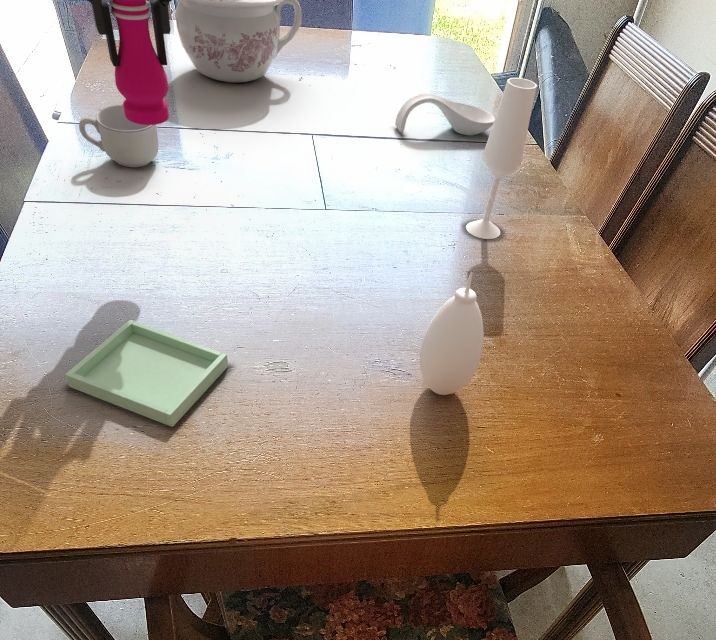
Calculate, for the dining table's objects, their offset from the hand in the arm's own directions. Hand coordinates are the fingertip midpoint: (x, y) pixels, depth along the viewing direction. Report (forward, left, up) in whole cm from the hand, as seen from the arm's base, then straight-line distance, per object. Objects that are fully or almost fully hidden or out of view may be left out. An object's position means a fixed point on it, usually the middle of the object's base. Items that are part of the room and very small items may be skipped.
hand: (138, 61), depth 84 cm
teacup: (-22, +19, -25) cm, 38 cm away
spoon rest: (+27, +74, -25) cm, 82 cm away
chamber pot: (-30, +74, -25) cm, 83 cm away
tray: (+19, -32, -25) cm, 45 cm away
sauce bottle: (+55, -15, -25) cm, 62 cm away
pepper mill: (0, 0, -7) cm, 7 cm away
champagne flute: (+48, +33, -25) cm, 63 cm away
